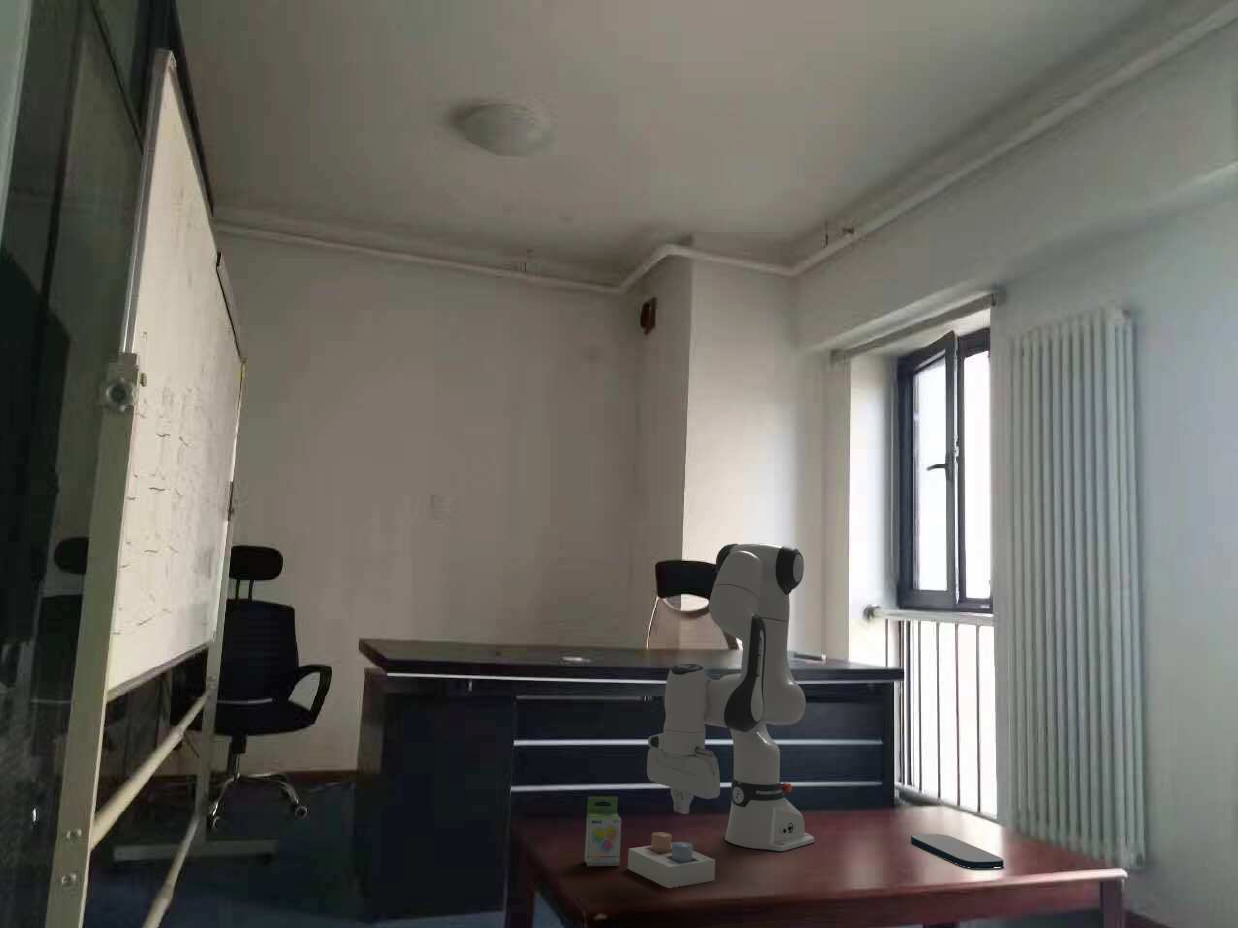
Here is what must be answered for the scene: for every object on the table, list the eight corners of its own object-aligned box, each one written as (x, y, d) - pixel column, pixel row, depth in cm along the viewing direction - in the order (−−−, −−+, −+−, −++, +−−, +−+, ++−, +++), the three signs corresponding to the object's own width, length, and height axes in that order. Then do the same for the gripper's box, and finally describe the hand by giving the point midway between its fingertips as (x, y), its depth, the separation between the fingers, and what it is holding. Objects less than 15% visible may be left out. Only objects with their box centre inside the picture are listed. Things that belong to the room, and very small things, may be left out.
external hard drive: (905, 842, 221) (905, 834, 221) (945, 841, 224) (945, 833, 225) (967, 871, 199) (967, 862, 199) (1010, 870, 202) (1010, 860, 202)
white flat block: (672, 861, 193) (673, 842, 193) (714, 880, 181) (715, 859, 182) (627, 868, 186) (628, 848, 187) (668, 888, 174) (669, 866, 175)
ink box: (587, 867, 186) (590, 800, 188) (583, 861, 189) (587, 796, 191) (619, 866, 187) (622, 800, 189) (615, 861, 191) (618, 796, 193)
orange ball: (662, 850, 190) (663, 831, 190) (674, 856, 186) (675, 836, 187) (647, 853, 187) (648, 833, 188) (659, 858, 184) (659, 838, 185)
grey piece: (683, 861, 184) (683, 840, 185) (696, 866, 181) (696, 846, 181) (667, 863, 182) (668, 843, 182) (679, 869, 178) (680, 848, 179)
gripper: (728, 751, 179) (726, 822, 177) (666, 735, 196) (663, 800, 193) (704, 752, 175) (702, 825, 173) (643, 736, 192) (640, 802, 190)
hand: (681, 812), depth 184 cm, fingers closed
